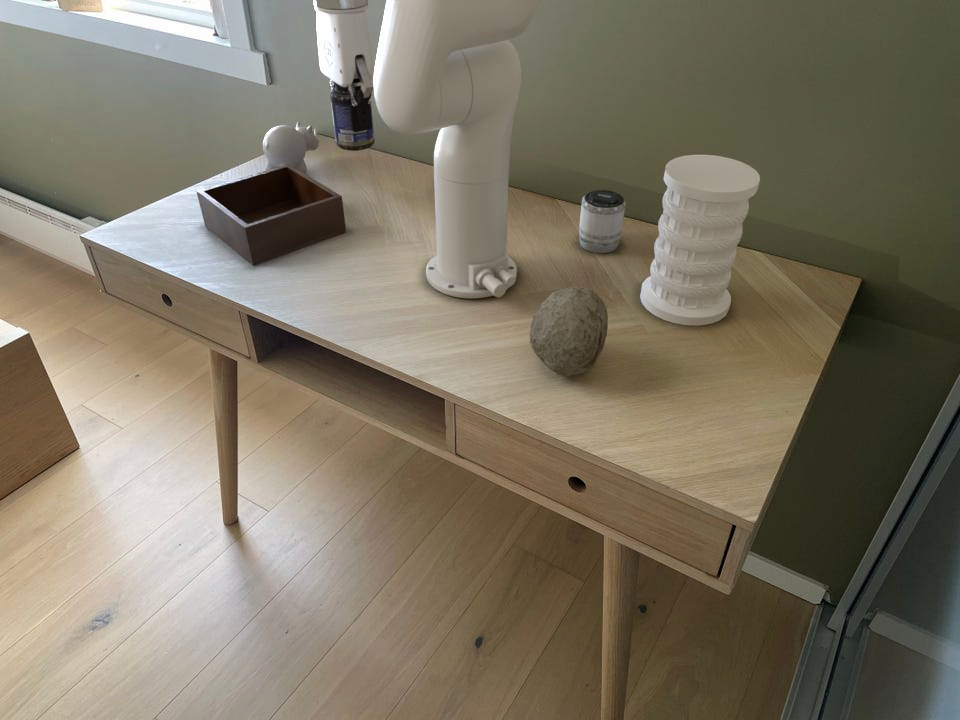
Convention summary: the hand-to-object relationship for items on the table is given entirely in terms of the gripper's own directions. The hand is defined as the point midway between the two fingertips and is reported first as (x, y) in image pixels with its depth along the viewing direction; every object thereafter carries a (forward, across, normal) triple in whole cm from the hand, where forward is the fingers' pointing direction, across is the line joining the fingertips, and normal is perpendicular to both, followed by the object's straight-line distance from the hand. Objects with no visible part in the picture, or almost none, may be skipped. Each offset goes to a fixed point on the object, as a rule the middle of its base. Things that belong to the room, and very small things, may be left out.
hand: (353, 122), depth 112 cm
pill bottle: (+4, 0, 0) cm, 4 cm away
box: (+13, +4, -16) cm, 21 cm away
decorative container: (+13, +51, +24) cm, 58 cm away
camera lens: (+13, +33, +24) cm, 43 cm away
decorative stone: (+13, +54, +2) cm, 56 cm away
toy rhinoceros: (+13, -16, -5) cm, 21 cm away
